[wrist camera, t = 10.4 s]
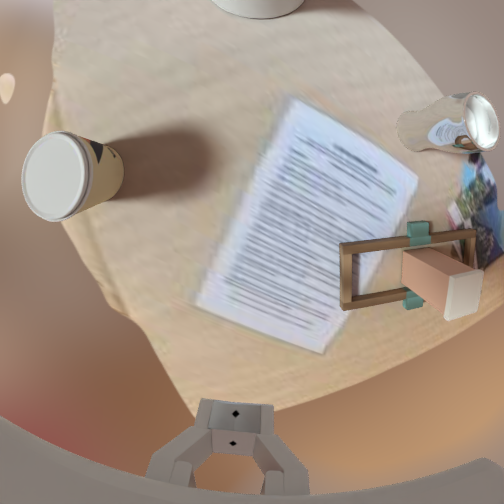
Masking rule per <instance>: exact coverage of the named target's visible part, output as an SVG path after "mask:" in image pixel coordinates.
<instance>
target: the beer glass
mask: <svg viewBox="0 0 504 504" xmlns="http://www.w3.org/2000/svg"><path fill="white" fill-rule="evenodd" d="M396 129H397V134H398V137H399V140H400V141H401V143H402V144H403V145H404V146H405V147H406V148H407V149H409V150H411V151H414V152H418V151H422V150H424V149H426V148H434V149H439V150H443V151H447V152H452V153H464V154H465V153H478V152H485V151H486V152H490V151H492V150H494V149H495V148H496V147H497V145H498V143H499V139H500V121H499V117H498V115H497V112H496V109H495V107H494V106H493V104H492V103H491V101H490V100H489V99H488V98H487V97H486V96H485V95H484V94H482V93H480V92H476V91H474V92H469V93H460V94H454V95H450V96H447V97H444V98H441V99H439V100H437V101H435V102H434V103H432V104H430V105H429V106H427V107H426V108H424V109H423V110H421V111H406V112H404V113H403V114H401V115H400V117H399V118H398V121H397V126H396Z"/></svg>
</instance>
